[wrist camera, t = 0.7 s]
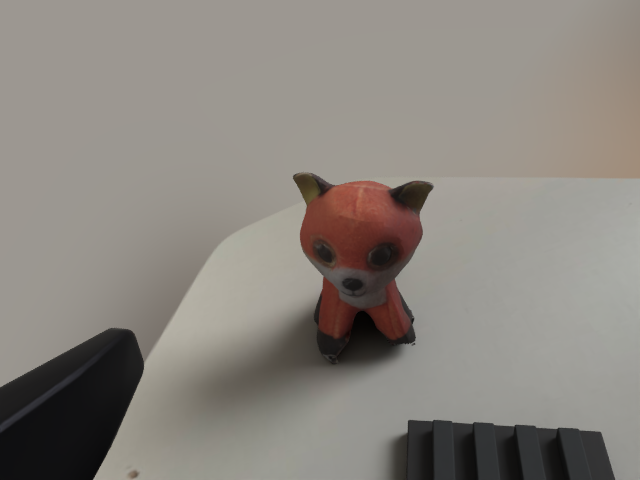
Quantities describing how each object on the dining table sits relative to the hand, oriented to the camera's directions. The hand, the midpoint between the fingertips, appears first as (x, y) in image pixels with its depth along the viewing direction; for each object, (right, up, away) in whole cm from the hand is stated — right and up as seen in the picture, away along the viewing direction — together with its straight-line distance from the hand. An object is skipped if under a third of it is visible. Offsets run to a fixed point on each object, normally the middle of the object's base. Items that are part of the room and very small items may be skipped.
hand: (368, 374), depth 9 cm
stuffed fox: (+3, -3, +28) cm, 29 cm away
